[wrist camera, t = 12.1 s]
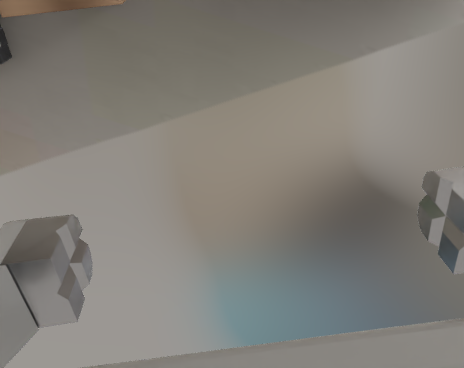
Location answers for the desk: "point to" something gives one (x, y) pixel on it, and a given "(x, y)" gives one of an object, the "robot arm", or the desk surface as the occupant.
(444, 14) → the desk surface
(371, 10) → the desk surface
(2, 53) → the disk drive
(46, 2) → the post
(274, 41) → the desk surface
